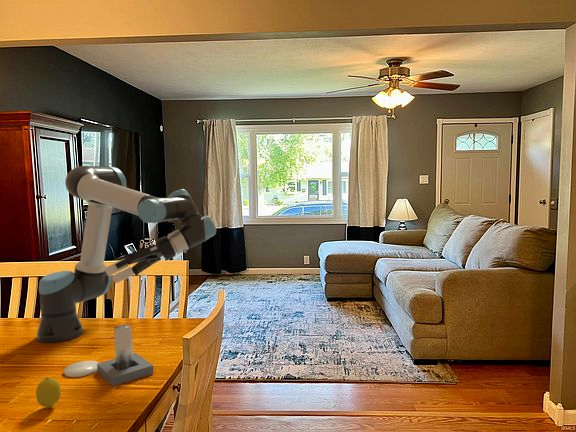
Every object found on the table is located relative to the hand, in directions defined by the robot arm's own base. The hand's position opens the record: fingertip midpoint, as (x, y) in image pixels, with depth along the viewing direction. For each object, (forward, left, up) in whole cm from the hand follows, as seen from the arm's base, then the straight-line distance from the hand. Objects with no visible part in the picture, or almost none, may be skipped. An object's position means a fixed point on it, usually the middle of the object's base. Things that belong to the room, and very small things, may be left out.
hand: (110, 276), depth 139 cm
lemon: (+19, -23, -27) cm, 41 cm away
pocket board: (+12, -1, -27) cm, 30 cm away
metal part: (+12, -1, -27) cm, 30 cm away
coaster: (+1, -10, -27) cm, 29 cm away
